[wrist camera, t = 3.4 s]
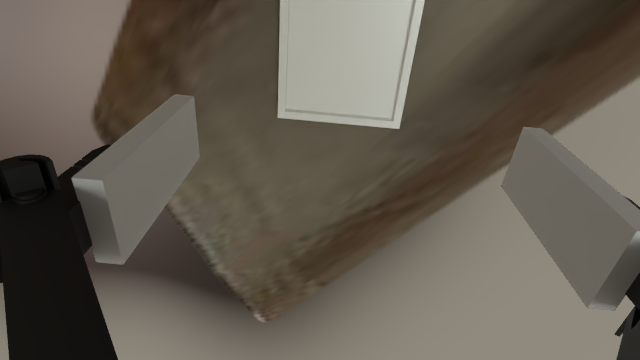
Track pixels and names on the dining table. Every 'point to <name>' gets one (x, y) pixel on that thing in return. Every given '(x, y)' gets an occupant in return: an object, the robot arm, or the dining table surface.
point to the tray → (346, 60)
